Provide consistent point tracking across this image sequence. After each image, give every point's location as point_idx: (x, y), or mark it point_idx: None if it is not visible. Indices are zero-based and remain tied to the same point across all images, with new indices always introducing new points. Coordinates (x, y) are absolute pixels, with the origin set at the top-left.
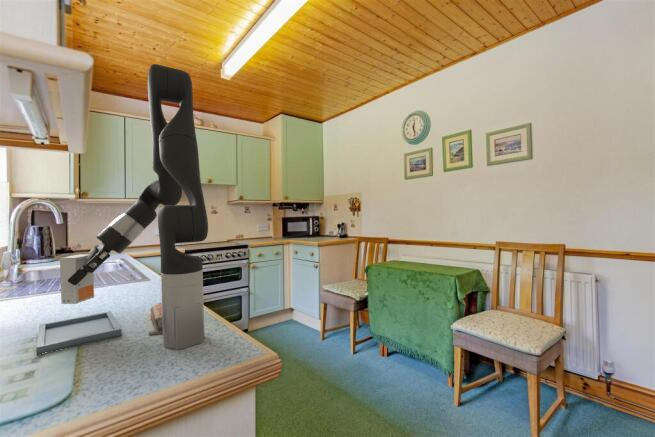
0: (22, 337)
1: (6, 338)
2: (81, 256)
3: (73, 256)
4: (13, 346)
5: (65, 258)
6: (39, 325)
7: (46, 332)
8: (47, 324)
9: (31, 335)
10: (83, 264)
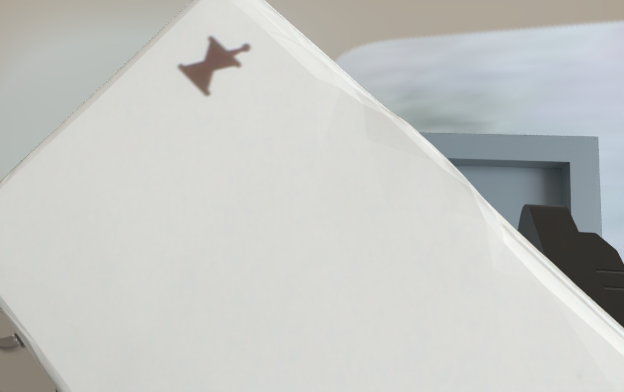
0: (520, 85)
1: (563, 29)
2: (91, 385)
3: (254, 221)
4: (394, 62)
5: (126, 64)
6: (569, 136)
7: (476, 170)
8: (567, 171)
9: (524, 117)
10: (39, 369)
